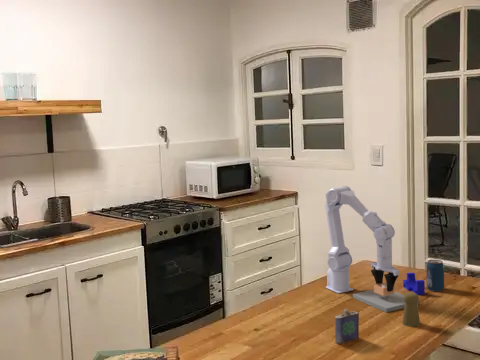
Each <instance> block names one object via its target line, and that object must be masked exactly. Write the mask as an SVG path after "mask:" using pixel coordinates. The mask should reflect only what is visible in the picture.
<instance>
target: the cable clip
mask: <svg viewBox="0 0 480 360" xmlns="http://www.w3.org/2000/svg"><path fill="white" fill-rule="evenodd" d="M402 281H403V283H402V285H403V288H404V289H406V290H407V291H409V292H410V291H411V292H412V293H416V294H417V295H418V296H424V295H425V293H426V292H425V291H426V290H425V284H426V283H425V280H424V279H416V273H415V272H406V279H403V280H402Z"/></svg>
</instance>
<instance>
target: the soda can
mask: <svg viewBox="0 0 480 360" xmlns="http://www.w3.org/2000/svg"><path fill="white" fill-rule="evenodd" d="M426 288H427V290H429V291H431V292H441V291H443V290H444V288H445V265H444V262H443V260H440V259H429V260H428V261H427V264H426Z"/></svg>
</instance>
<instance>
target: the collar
mask: <svg viewBox="0 0 480 360" xmlns="http://www.w3.org/2000/svg"><path fill="white" fill-rule="evenodd" d="M382 284H387V283H386V282H383V283H381V284H376V283H375V284H373V290H374V292H375V293H377V294H380V295H382V296H386V295H391V294H395V292H396V291H395V288H396V287H395V285H394V287H393V291H390V292H388V291H387V287H385V288H383V287H382Z"/></svg>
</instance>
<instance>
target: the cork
mask: <svg viewBox="0 0 480 360" xmlns="http://www.w3.org/2000/svg"><path fill="white" fill-rule="evenodd" d="M403 295H404V297H403V298H404V301H405V307H404V308H403V316H402V325H403V326H405V327H408V328H409V327H411V328H413V327H414V328H415V327H419V326H420V325H421V321H420V314H419V312H420V311H419V307H418V306H419V305H417V303H418V302H419V300H420V297H419V296H420V295H417V294H416V293H414V292H413V291H411V292H410V291H409V292H405V293H404V294H403Z"/></svg>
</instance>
